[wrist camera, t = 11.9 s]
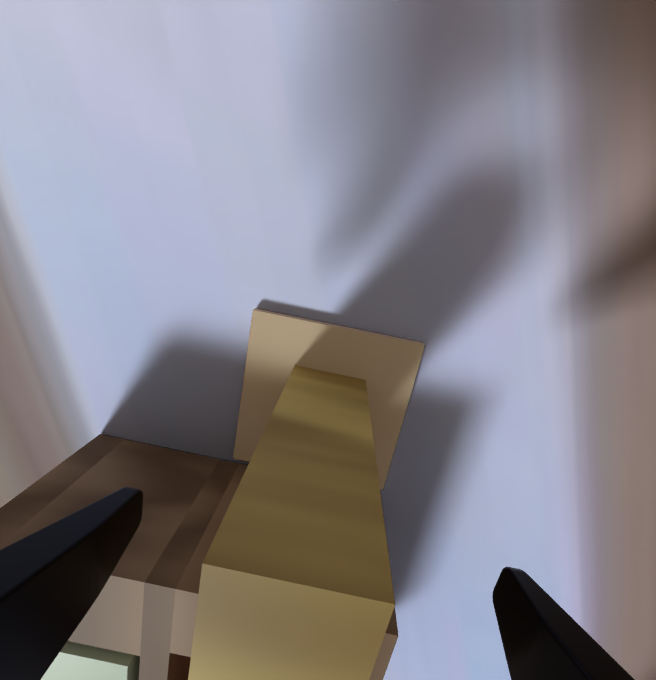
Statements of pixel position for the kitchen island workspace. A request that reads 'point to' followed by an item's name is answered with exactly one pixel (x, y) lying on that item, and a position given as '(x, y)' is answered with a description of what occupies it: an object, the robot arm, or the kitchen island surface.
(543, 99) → the kitchen island surface
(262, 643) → the square wooden peg
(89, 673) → the on button
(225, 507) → the block
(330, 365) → the pad
